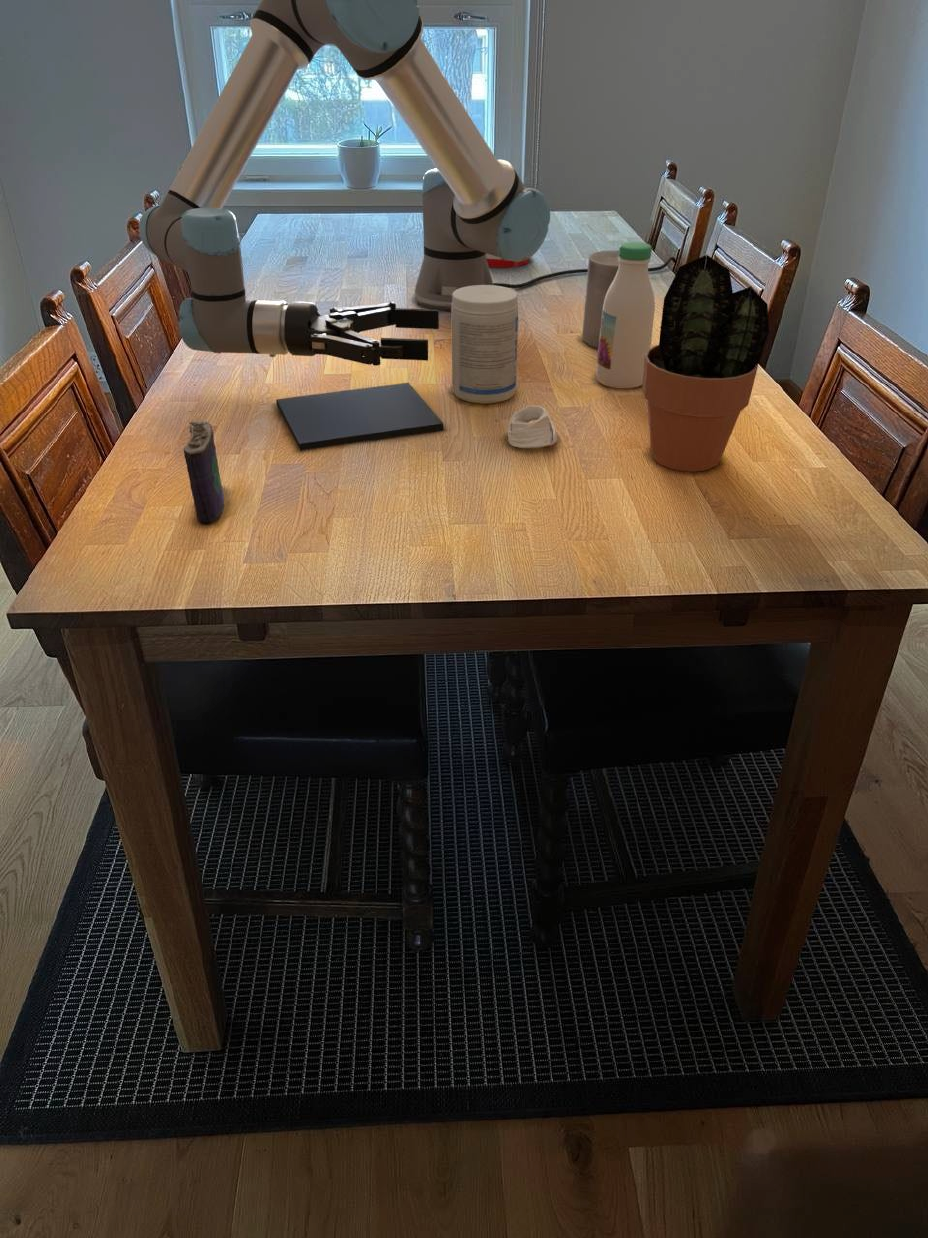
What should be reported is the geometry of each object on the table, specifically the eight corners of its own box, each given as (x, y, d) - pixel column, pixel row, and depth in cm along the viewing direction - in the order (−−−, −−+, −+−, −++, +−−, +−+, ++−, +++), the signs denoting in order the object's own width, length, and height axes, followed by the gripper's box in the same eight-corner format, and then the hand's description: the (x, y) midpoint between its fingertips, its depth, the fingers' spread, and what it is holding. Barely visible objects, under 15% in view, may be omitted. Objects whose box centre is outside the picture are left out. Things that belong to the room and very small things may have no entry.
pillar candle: (645, 336, 158) (656, 245, 150) (628, 353, 151) (639, 259, 142) (591, 328, 162) (599, 238, 153) (573, 345, 154) (580, 252, 146)
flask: (202, 488, 111) (188, 405, 105) (227, 487, 111) (214, 404, 105) (195, 526, 104) (179, 439, 97) (221, 525, 104) (207, 437, 98)
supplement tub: (528, 397, 135) (533, 296, 127) (475, 411, 131) (477, 307, 123) (491, 377, 142) (493, 279, 134) (439, 389, 138) (438, 289, 129)
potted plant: (676, 489, 112) (709, 279, 97) (611, 447, 122) (633, 250, 107) (761, 467, 117) (805, 264, 103) (693, 428, 127) (724, 238, 112)
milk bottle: (649, 375, 143) (667, 240, 132) (640, 392, 137) (658, 253, 126) (601, 368, 145) (614, 236, 134) (590, 385, 139) (603, 248, 128)
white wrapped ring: (562, 458, 121) (568, 424, 118) (512, 457, 119) (518, 423, 116) (547, 429, 127) (553, 397, 124) (500, 428, 126) (505, 395, 122)
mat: (408, 388, 138) (408, 382, 137) (443, 430, 126) (443, 423, 125) (276, 405, 132) (275, 399, 132) (299, 450, 120) (299, 443, 119)
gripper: (310, 326, 146) (442, 332, 144) (269, 384, 125) (423, 391, 124) (305, 278, 141) (442, 283, 140) (263, 330, 121) (422, 336, 120)
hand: (433, 334), depth 132 cm, fingers open, 13 cm apart
